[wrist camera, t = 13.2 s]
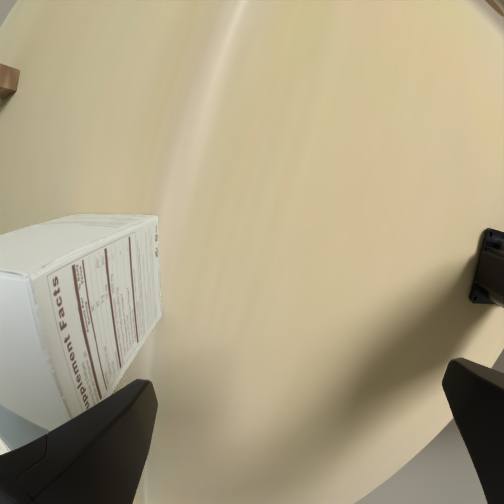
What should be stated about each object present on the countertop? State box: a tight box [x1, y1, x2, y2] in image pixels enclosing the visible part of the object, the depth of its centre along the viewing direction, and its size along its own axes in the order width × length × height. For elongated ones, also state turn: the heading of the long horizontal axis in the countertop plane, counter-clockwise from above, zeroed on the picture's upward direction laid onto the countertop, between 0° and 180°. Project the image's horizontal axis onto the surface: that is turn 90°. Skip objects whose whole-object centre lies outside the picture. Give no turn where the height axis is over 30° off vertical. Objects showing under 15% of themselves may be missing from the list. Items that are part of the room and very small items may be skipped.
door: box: [0, 405, 50, 451], centre depth 16 cm, size 16×2×10 cm, turn 11°
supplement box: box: [0, 214, 162, 431], centre depth 13 cm, size 7×7×13 cm
